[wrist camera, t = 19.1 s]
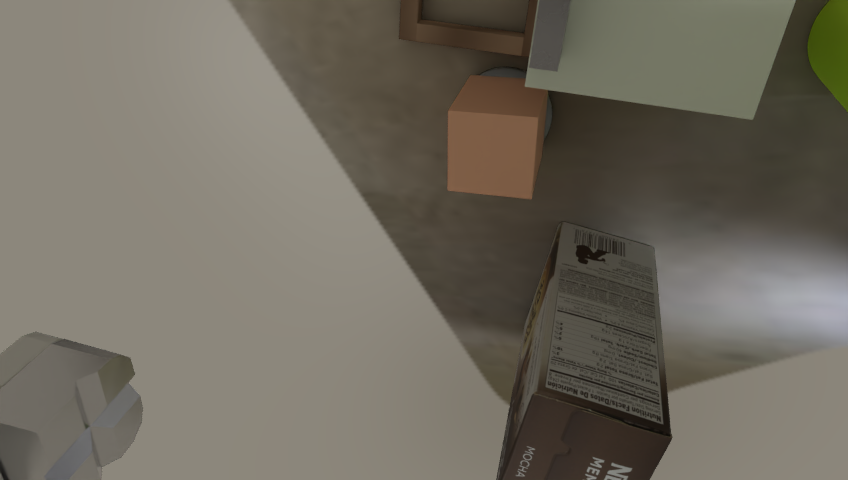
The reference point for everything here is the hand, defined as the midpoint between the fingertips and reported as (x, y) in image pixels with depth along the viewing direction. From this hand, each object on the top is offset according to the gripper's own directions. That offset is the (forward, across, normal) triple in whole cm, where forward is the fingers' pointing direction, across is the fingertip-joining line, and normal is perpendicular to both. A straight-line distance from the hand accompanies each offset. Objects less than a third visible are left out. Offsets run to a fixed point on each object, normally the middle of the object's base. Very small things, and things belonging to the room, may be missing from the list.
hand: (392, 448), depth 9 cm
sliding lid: (+25, -4, -1) cm, 25 cm away
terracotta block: (+31, +2, +7) cm, 31 cm away
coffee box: (+31, -5, +18) cm, 37 cm away
